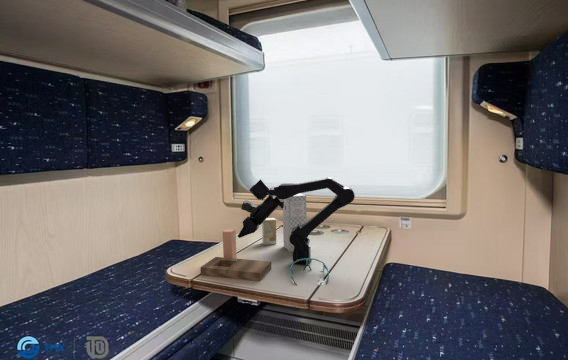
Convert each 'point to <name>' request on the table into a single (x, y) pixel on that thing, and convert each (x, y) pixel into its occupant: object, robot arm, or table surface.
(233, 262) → the wooden peg hole board
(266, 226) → the skincare box
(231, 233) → the terracotta peg block
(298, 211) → the box
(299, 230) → the robot arm
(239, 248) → the table surface
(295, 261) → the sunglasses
